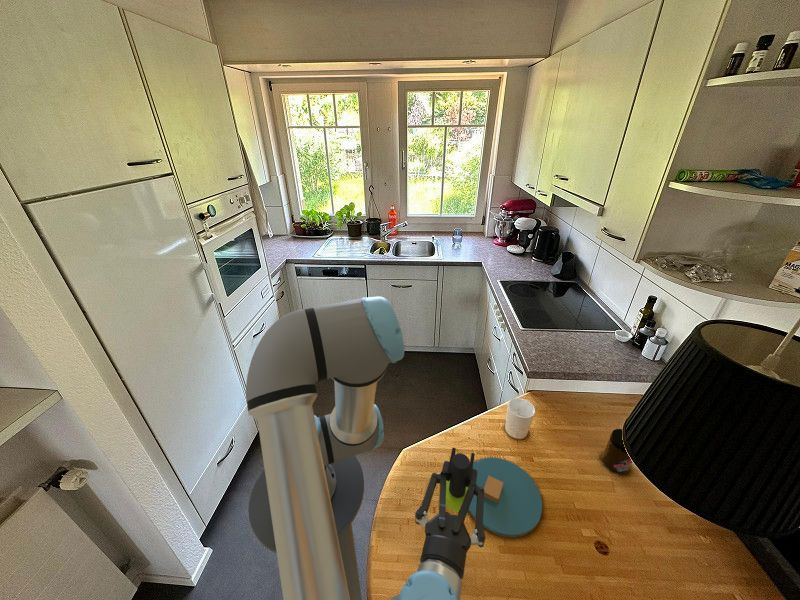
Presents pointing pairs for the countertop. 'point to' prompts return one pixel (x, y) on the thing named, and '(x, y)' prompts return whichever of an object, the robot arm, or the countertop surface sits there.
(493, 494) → the brown rectangular block
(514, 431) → the white cup
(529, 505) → the plate
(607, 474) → the countertop surface
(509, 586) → the countertop surface
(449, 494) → the sponge wand
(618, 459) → the supplement container
